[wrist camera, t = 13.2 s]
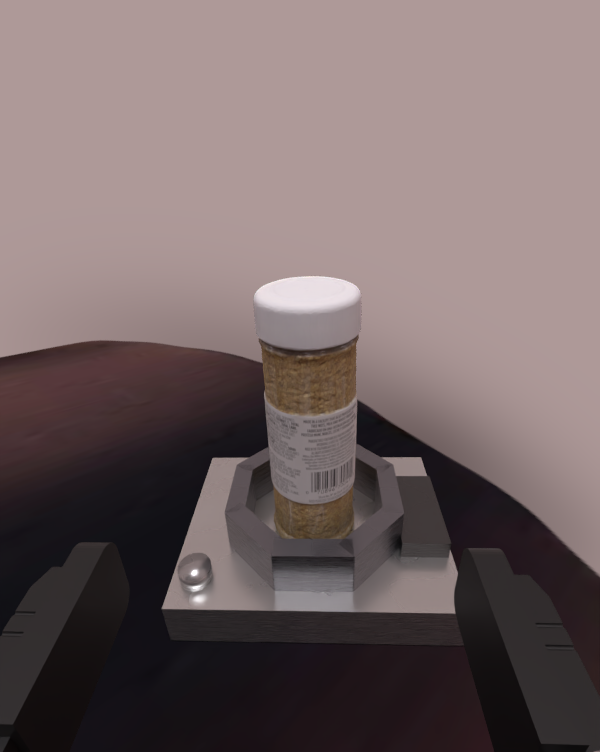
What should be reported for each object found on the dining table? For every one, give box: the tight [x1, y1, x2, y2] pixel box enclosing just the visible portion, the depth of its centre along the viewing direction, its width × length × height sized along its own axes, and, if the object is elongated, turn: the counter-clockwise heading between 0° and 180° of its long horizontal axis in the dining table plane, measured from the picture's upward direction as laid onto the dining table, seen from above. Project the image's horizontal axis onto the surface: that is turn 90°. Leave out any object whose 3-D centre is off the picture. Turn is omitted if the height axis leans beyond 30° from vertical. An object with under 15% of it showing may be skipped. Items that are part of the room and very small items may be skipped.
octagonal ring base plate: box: [162, 444, 464, 646], centre depth 25 cm, size 14×11×5 cm
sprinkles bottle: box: [254, 276, 361, 539], centre depth 22 cm, size 5×5×13 cm
